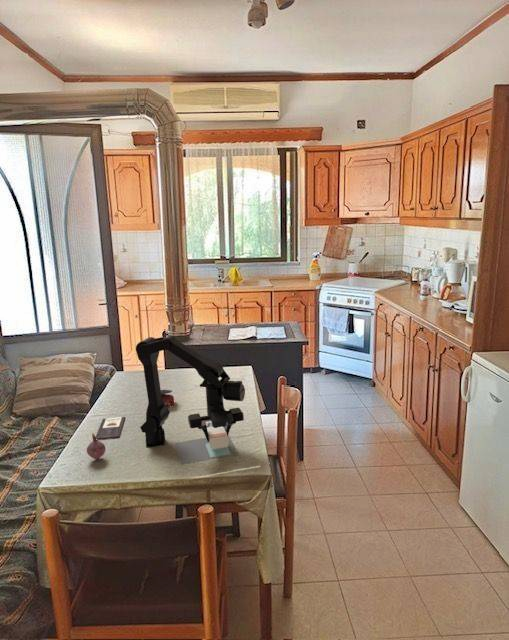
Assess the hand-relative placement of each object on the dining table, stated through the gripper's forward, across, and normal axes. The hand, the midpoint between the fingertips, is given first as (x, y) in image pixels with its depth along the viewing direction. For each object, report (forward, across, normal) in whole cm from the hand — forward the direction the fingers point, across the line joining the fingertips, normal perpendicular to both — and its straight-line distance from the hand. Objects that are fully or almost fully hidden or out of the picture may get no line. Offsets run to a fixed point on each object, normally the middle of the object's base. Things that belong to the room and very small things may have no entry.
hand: (217, 440), depth 164 cm
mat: (+4, -4, +2) cm, 6 cm away
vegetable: (+4, -41, +8) cm, 42 cm away
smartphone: (+5, +4, +21) cm, 22 cm away
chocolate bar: (+5, -37, +32) cm, 49 cm away
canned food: (+4, -15, +49) cm, 51 cm away
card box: (+1, 0, 0) cm, 1 cm away
